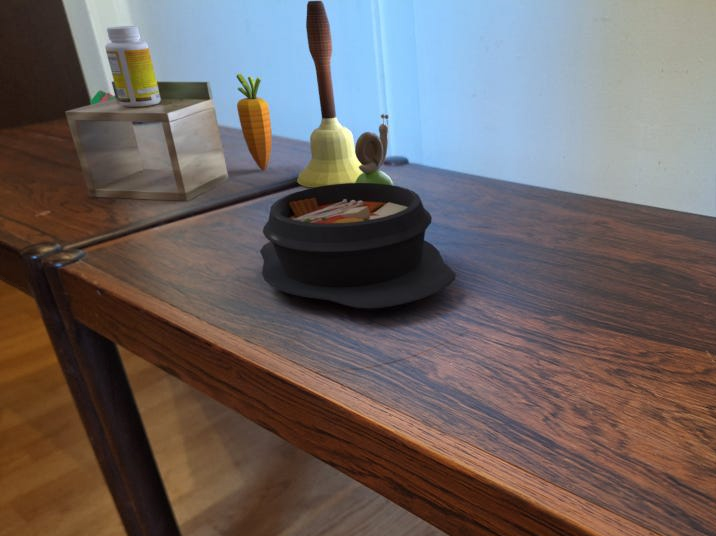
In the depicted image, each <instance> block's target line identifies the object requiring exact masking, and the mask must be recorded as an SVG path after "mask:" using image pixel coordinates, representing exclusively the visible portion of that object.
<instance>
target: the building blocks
mask: <svg viewBox="0 0 716 536" xmlns="http://www.w3.org/2000/svg"><path fill="white" fill-rule="evenodd" d="M112 99H116V97H115V94H111V93H110V92H105V91H104V90H102V89H99V90H98V91H97V92H96V93H95V94H94V95H93V97H92V98H91V100H90V105H92V104H96V103H100V102H104V101H108V100H112ZM140 123H141V124H143V123H144V122H140Z"/></svg>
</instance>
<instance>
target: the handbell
mask: <svg viewBox="0 0 716 536" xmlns="http://www.w3.org/2000/svg"><path fill="white" fill-rule="evenodd" d="M306 4H307V5H306V18H305V19H306V20H305V28H306V29H305V30H306V38H307V45H308V51H309V54H310V55H311V59H312V60H313V63H314V64H313V65H314V68H315V74H316V75H315V76H316V81H317V82H316V84H317V90H318V99H319V105H320V106H319V107H320V115H321V121H320V124H319V126H318V127H316V128H314V130H312V132H311V134H310V136H309V144H310V145H309V146H310V153H311V158H310V160H309V163H308V164H307V166H306V167H305V168H304V169H303V170H302V171H301V172H300V173H299V174H298V176H297V178H296V179H297V180H296V183H298V185H301V186H302V187H306V188H314V187H320V186H326V185H333V184H344V183H355V181H356V179H357V178H358V177H359V175H360V174H362V173H363V172H362V171H361V170H360V169H359V166H360V165H362V164H361V163H360V162H359V161H358V159H357V157H356V153H355V141H354V135H353V133H352V131H351V130H350V129H348V128H347V127H346V126H342V124H341V123H340V122H339V120H338V118H337V113H336V104H335V95H334V88H333V78H332V70H331V69H332V67H331V63H332V61H331V59H332V54H333V42H332V41H333V40H332V32H331V26H330V21H329V18H328V14H327V11H326V7H325V5H324V2H323V1H322V0H308V2H307V3H306Z"/></svg>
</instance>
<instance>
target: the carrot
mask: <svg viewBox="0 0 716 536" xmlns="http://www.w3.org/2000/svg"><path fill="white" fill-rule="evenodd" d="M236 78H237V80H238V81H239V83H240V85H241V86H242V87H243V88H242V87H237V91H239V92H240V93H241V94H243V95H244V96H245V97H244V98H241V99H239V100H238V101H237V103H236V110H237V114H238V118H239V124H240V128H241V132H242V135H243V139H244V141H245V144H246V146H247V149H248V151H249V154H250V155H251V158H252V159H253V161H254V162H255V164H256V165H257V167H258V168H259V169H260V170H261V171H263V172H264V171H265V170H266V169H267V168H268V165H269V162H270V158H271V154H272V153H271V152H272V123H271V115H270V107H269V104H268V102H267V101H266V100H265V99H263V98H262V97H257V96H258V95H257V94H258V90H259V87H260V84H261V81H262V79H261V77H260V76H259V77H258V76H257V77H256V79H255V80H254V77H252V76H248V77H247V79H246V78H245V77H244V76H243V74H242V73H237V74H236ZM247 80H248V81H247Z"/></svg>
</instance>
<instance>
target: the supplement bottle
mask: <svg viewBox="0 0 716 536" xmlns="http://www.w3.org/2000/svg"><path fill="white" fill-rule="evenodd" d="M106 32H107V36H108V41H110V42H108V43H107V44H106V45H105V46H104V48H105V52H106V56H107V60H108V64H109V68H110V71H111V75H112V79H113V81H114V83H115V87H116V91H117V94H118V98H119V102H120V104H121V105H123V106H125V107H144V106H151V105H155V104H158V103H159V102H160V100H161V98H160V94H159V89H158V85H157V81H158V80H157V76H156V73H155V68H154V64H153V61H152V55H151V52H150V47H149V44H148V43H147V42H146V41H143V40H140V39H141V34H140V31H139V27H138V26H136V25H126V26H125V25H122V26H121V25H120V26H110V27H107V28H106Z"/></svg>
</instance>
